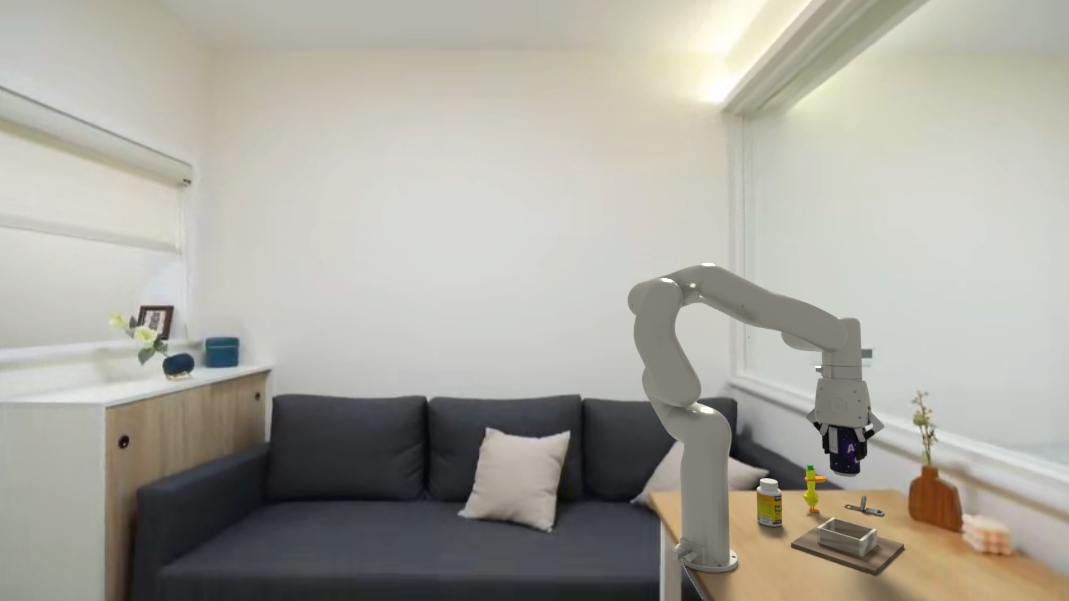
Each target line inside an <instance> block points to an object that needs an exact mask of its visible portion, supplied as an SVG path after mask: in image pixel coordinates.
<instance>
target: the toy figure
mask: <svg viewBox="0 0 1069 601" xmlns="http://www.w3.org/2000/svg"><path fill="white" fill-rule="evenodd" d="M805 471H806V472H805V475H806V476H805V477H804V481H805V482H806V485H807V490H806V491H805V493H804V494H801V495H802V497H803V499H804V500H805V502H806V503H807V505H808V506H809V509H808V511H810V512H811V513H814V514H815V513H817V514H818V513H820V509H818V508H816V506H817V505H818V503H819V496H818V493H817V492H816V491H815V490H816V489H815V488H816V483H825V482H826V480H828V478H827V477H826V476H822V475H816V468H815V467H814V464H813V463H806V467H805Z"/></svg>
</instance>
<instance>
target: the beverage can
mask: <svg viewBox="0 0 1069 601" xmlns="http://www.w3.org/2000/svg"><path fill="white" fill-rule="evenodd" d="M856 441H858V437H857V434H856V432H855V429H854V428H849V427H844V426H840V425H829V454H828V455H829V469H830V470H831V471H832V472H833V474H835V475H837V476H840V477H847V478H854V477H857V476H858V475H859V474H860V473H861V460H857V459H856Z"/></svg>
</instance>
